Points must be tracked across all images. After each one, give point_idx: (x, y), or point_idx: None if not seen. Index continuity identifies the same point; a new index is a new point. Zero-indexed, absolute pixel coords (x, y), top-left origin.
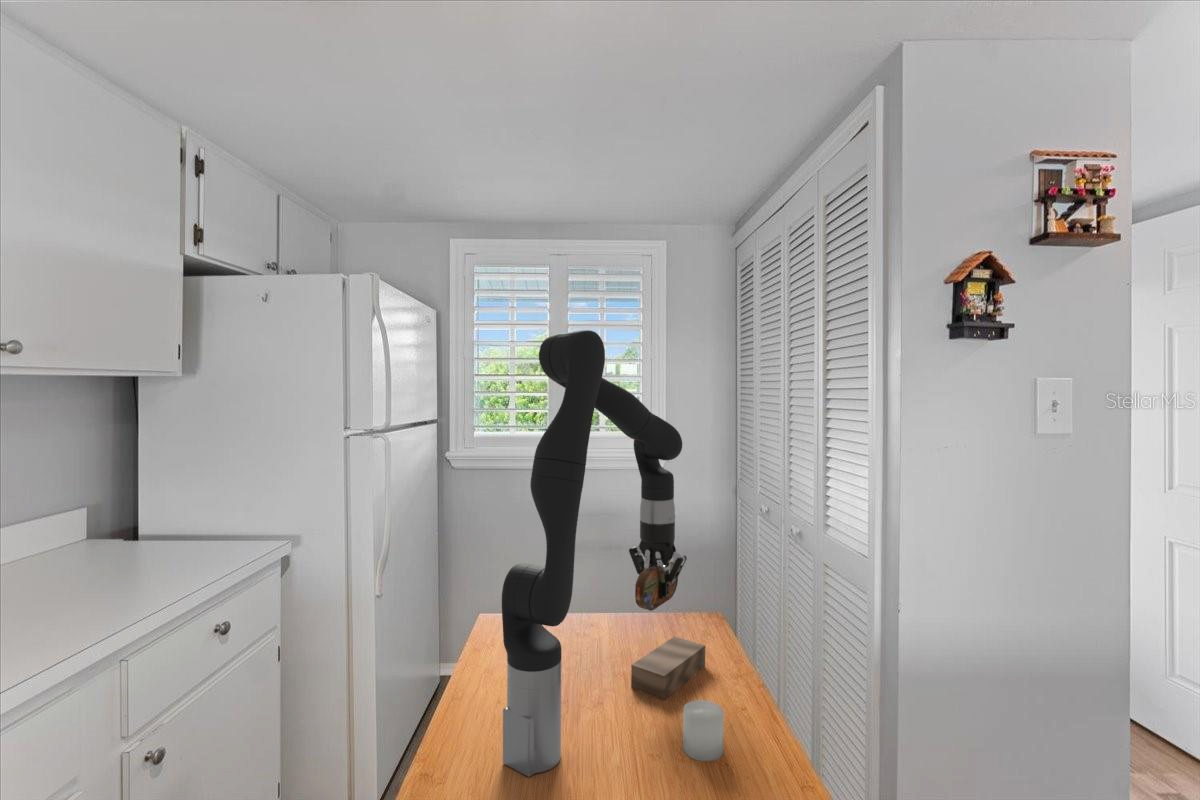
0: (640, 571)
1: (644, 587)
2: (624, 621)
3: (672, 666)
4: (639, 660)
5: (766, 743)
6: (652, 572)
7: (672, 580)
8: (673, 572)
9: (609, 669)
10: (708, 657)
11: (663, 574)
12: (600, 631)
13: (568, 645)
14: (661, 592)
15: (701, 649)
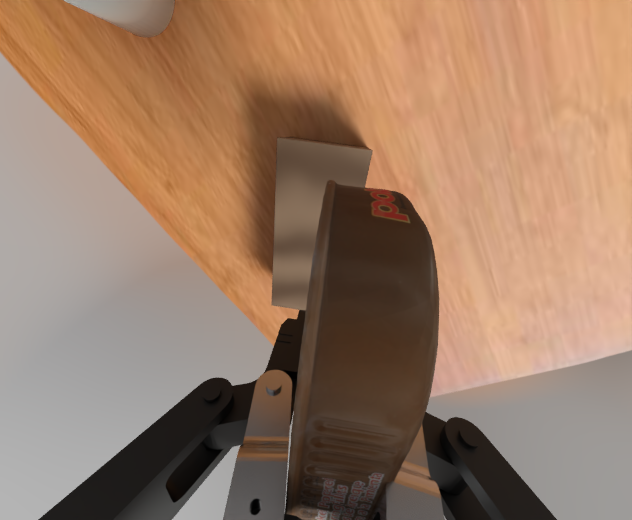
0: (458, 443)
1: (322, 213)
2: (463, 367)
3: (283, 194)
4: (362, 183)
5: (78, 91)
6: (313, 421)
7: (200, 386)
8: (152, 449)
9: (438, 198)
10: (290, 311)
11: (256, 426)
12: (500, 325)
13: (560, 252)
14: (298, 328)
15: (272, 291)
